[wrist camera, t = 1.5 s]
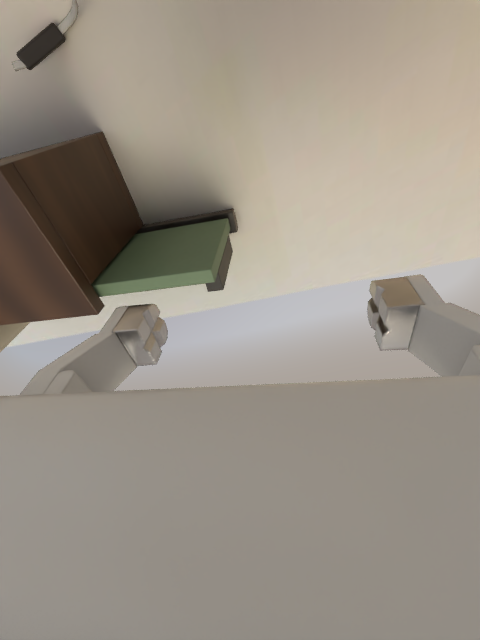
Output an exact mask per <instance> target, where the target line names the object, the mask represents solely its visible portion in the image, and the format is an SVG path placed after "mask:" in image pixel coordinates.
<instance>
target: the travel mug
mask: <svg viewBox="0 0 480 640" xmlns="http://www.w3.org/2000/svg"><path fill="white" fill-rule="evenodd" d="M29 323H30V322H26V323H17V324H8V325H0V352H1V351H2V350H3V349H4V348H5V347H6V346H7V345H8V344H9V343H10V342H11V341H12V340H13V339H14V338H15V337H16V336H17V335H18V334H19V333H20V332H21V331H22V330H23V329H24V328H25V327H26V326H27V325H28V324H29Z"/></svg>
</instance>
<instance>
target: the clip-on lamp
mask: <svg viewBox="0 0 480 640" xmlns="http://www.w3.org/2000/svg"><path fill="white" fill-rule="evenodd" d="M77 14H78V4H77V1H76V0H72V8H71V10H70V12H69V14H68V15H67V16H66V17H65V19H64V20H63V21H62V22H61V23H60V24H59V25H58V26H56V25H55V24H54V23H51V24H50V25H48V26H47V27H46V28H45V29H44V30H43V31H41V32H40V33H39V34H38V35H37V36H36V37H34V38H33V39H32V40H31V41H30V42H29V43H27V44H26V45H25V46H24V47H23V48H22V49H20V50H19V51H18V52H17V54H16V55H17V57H18V58H19V59H20V60H18V61H14V62H12V65H13V67H14V69H15V71H18V70H21V69H25V68H27V69H29V70H32V69H33V68H34V67H35V66H36V65H38V64H39V63H40V62H41V61H42V60H44V59H45V58H46V57H47V56H48V55H49V54H51V53H52V52H53V51H54V50H55V49H56V48H58V47H59V46H60V45H61V44H62V43H63V42H65V37H64V36H63V34H64V33H65V32H66V31H67V30H68V29H69V27H70V26H71V25H72V24H73V22H74V21H75V19H76V17H77Z"/></svg>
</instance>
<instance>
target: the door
mask: <svg viewBox="0 0 480 640" xmlns="http://www.w3.org/2000/svg"><path fill="white" fill-rule="evenodd" d="M229 232H230V225H229V221H228V218H226V219H220V220H214V221H209V222H203V223H197V224H191V225H186V226H180V227H174V228H168V229H163V230H157V231H151V232H146V233H140V234H135V235H134V236H133V237H132V238H131V239H130V240H129V242H128V243H127V244H126V245H125V246H124V247H123V248H122V250H121V251H120V252H119V253H118V254H117V255H116V256H115V258H114V259H113V260H112V261H111V262H110V263H109V264H108V266H107V267H106V268H105V269H104V270H103V271H102V272H101V273H100V275H99V276H98V277H97V278H96V279H95V280H94V281H93V283H92V284H91V286H92V287H93V289H94V290H95V292H96V293H97V295H98V296H99V297H102V296H110V295H118V294H125V293H133V292H141V291H149V290H157V289H165V288H173V287H180V286H188V285H196V284H204V283H205V284H206V287H207V290H208V292H209V291H217V290H223V289H224V285H225V281H226V277H227V273H228V269H229V264H230V260H231V256H232V252H233V251H232V247H231V243H230V238H229V236H228V235H229Z"/></svg>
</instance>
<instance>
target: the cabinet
mask: <svg viewBox="0 0 480 640" xmlns="http://www.w3.org/2000/svg"><path fill="white" fill-rule="evenodd" d="M226 218H228V221H229V225H230V232H229V233H234V232H237V230H238V226H237V221H236V217H235V212H234V209H230V210H225V211H219V212H214V213H208V214H202V215H197V216H191V217H186V218H180V219H175V220H169V221H164V222H158V223H153V224H147V225H143V223H142V221H141V218H140V216H139V214H138V211H137V209H136V207H135V205H134V202H133V200H132V198H131V195H130V193H129V191H128V189H127V186H126V184H125V182H124V179H123V177H122V175H121V173H120V170H119V168H118V166H117V163H116V161H115V159H114V157H113V154H112V152H111V150H110V147H109V145H108V143H107V141H106V138H105V136H104V134H103V132H99V133H95V134H91V135H87V136H84V137H80V138H76V139H72V140H69V141H65V142H61V143H57V144H53V145H50V146H46V147H42V148H38V149H35V150H31V151H27V152H23V153H20V154H16V155H12V156H8V157H4V158H1V159H0V325H8V324H17V323H26V322H35V321H44V320H52V319H61V318H70V317H79V316H88V315H97V314H99V313H100V311H101V310H102V309H103V307H104V304H103V302H102V301H101V299H100V298H99V296H98V295H97V293H96V292H95V290H94V289H93V287H92V286H91V284H92V283H93V281H94V280H95V279H96V278H97V277H98V276H99V275H100V273H101V272H102V271H103V270H104V269H105V268H106V267H107V266H108V264H109V263H110V262H111V261H112V260H113V259H114V258H115V256H116V255H117V254H118V253H119V252H120V251H121V250H122V248H123V247H124V246H125V245H126V244H127V243H128V242H129V240H130V239H131V238H132V237H133V236H134V235H135V234H140V233H146V232H151V231H157V230H163V229H168V228H174V227H180V226H186V225H191V224H197V223H203V222H209V221H214V220H220V219H226Z"/></svg>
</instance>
